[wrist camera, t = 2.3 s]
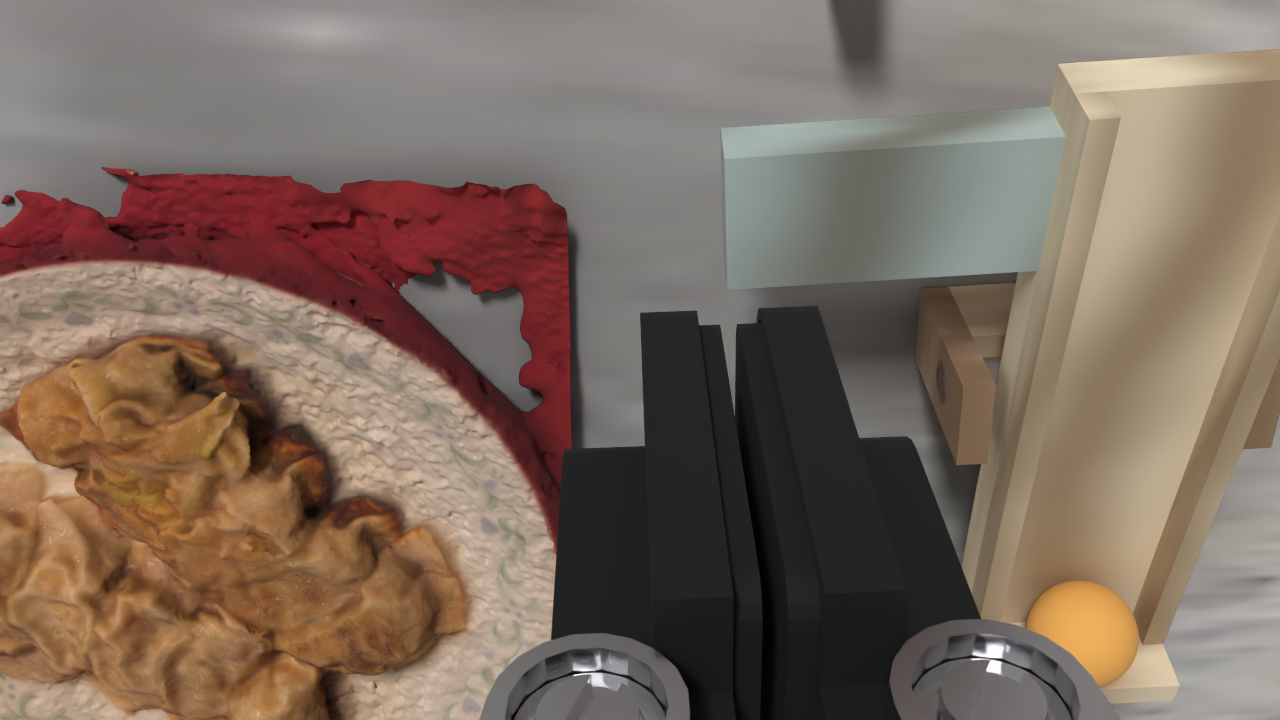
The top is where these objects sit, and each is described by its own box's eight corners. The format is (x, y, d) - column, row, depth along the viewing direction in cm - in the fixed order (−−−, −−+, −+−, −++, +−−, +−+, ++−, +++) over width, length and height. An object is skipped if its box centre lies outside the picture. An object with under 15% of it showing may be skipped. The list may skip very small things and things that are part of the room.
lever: (1332, 45, 24) (1420, 139, 22) (1132, 598, 37) (1172, 700, 34) (719, 87, 25) (732, 183, 22) (731, 620, 37) (740, 722, 35)
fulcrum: (1204, 270, 33) (1291, 368, 29) (1189, 343, 35) (1271, 447, 30) (919, 288, 34) (963, 387, 29) (915, 360, 35) (956, 465, 30)
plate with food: (571, 162, 32) (563, 213, 29) (582, 810, 46) (576, 892, 43) (-322, 146, 33) (-423, 196, 29) (-52, 798, 46) (-103, 880, 43)
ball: (1128, 556, 34) (1165, 645, 31) (1108, 618, 36) (1141, 706, 33) (1023, 561, 34) (1051, 651, 32) (1008, 624, 36) (1034, 712, 34)
